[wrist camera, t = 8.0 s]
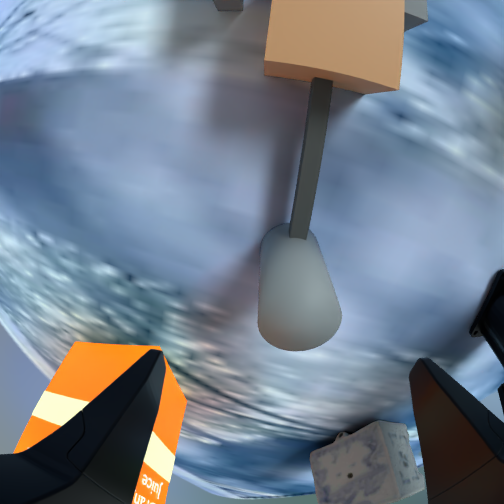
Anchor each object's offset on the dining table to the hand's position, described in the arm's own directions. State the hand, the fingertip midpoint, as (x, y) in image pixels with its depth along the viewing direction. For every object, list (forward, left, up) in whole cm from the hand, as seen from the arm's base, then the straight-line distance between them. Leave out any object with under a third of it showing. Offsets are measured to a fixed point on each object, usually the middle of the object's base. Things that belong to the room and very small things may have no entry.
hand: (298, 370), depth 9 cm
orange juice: (-13, +12, -8) cm, 19 cm away
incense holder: (-23, -12, -8) cm, 27 cm away
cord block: (+7, -1, -8) cm, 11 cm away
